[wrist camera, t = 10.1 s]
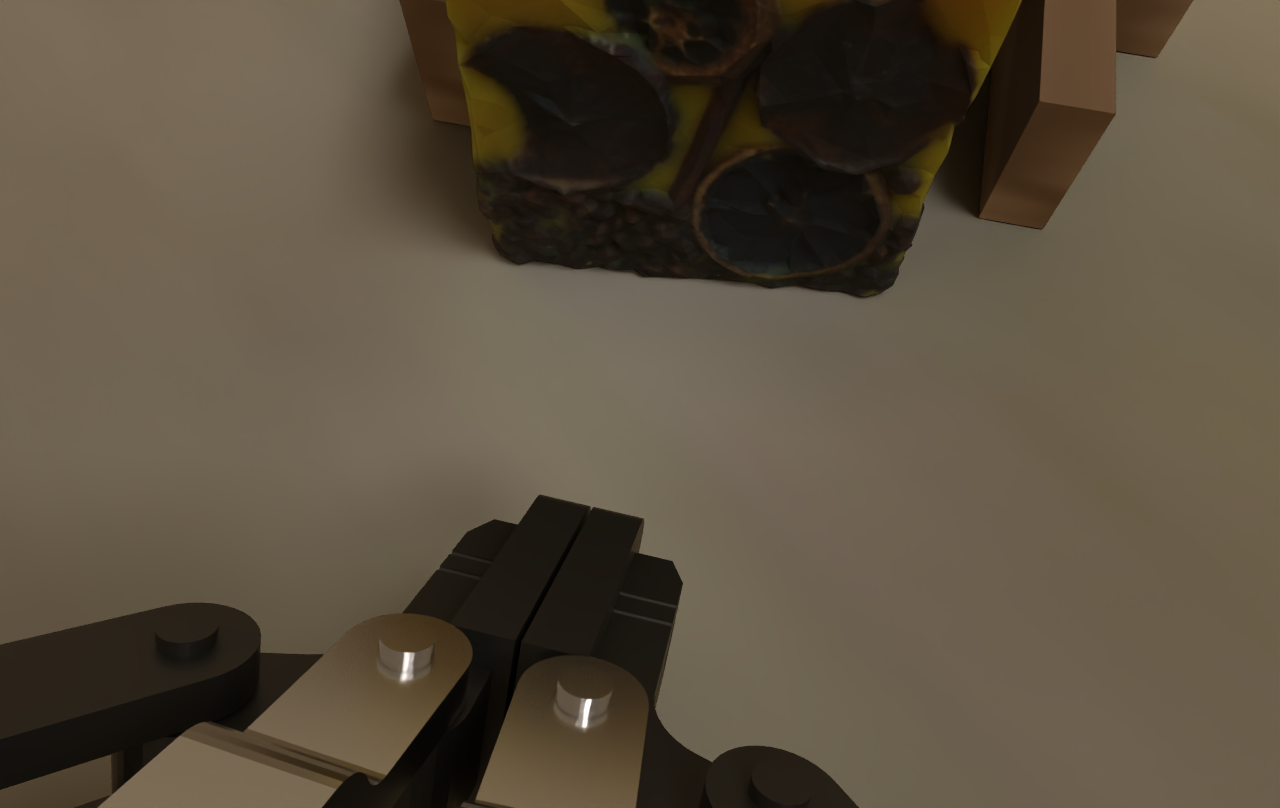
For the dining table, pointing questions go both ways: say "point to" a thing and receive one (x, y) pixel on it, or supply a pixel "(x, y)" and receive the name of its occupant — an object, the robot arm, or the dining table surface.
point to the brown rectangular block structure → (1018, 101)
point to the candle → (718, 130)
